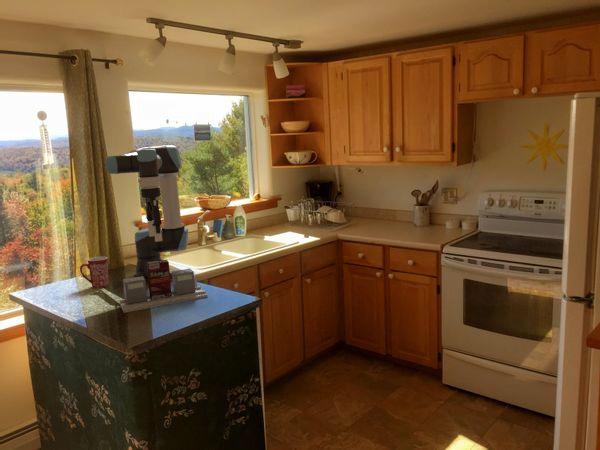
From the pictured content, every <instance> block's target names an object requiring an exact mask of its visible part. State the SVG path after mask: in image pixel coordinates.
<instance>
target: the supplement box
mask: <svg viewBox="0 0 600 450" xmlns="http://www.w3.org/2000/svg"><path fill="white" fill-rule="evenodd" d="M146 264H147V275H148V276H147V286H148V294H149V296H150V299H151V300H155V299H161V298H166V297H172V292H171V291H172V283H171V272H170V262H169V260H168V259H163V260H160V261H153V262H147V263H146Z"/></svg>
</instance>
